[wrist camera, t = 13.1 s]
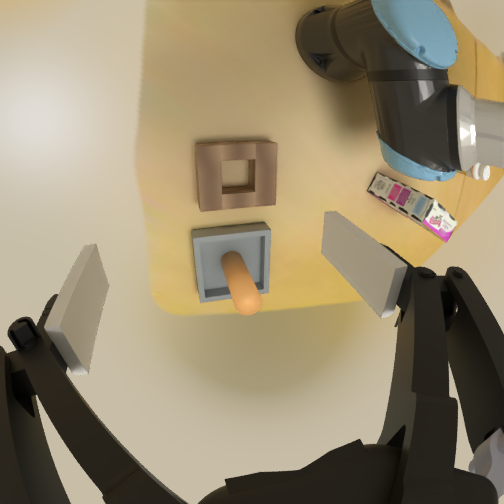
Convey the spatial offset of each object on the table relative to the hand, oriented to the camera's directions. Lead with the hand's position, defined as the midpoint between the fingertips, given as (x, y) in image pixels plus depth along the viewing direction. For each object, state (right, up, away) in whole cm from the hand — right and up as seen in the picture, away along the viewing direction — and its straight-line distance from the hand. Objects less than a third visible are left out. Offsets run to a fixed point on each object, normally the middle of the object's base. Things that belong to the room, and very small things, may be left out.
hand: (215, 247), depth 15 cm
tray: (-2, -1, +37) cm, 37 cm away
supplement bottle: (+57, +24, +41) cm, 74 cm away
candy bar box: (+31, +12, +39) cm, 52 cm away
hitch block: (-1, +13, +29) cm, 32 cm away
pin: (-2, -2, +36) cm, 36 cm away
